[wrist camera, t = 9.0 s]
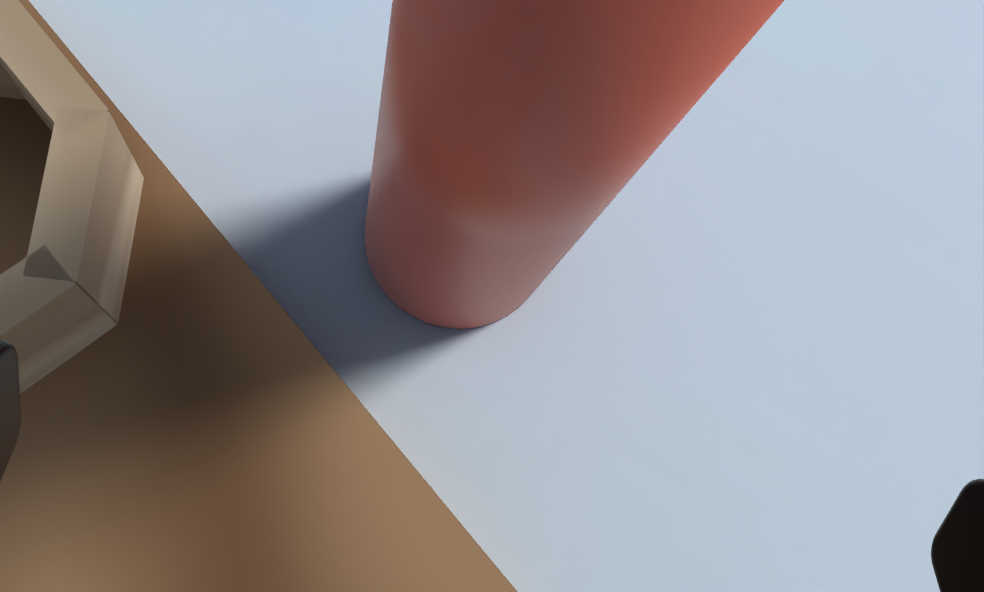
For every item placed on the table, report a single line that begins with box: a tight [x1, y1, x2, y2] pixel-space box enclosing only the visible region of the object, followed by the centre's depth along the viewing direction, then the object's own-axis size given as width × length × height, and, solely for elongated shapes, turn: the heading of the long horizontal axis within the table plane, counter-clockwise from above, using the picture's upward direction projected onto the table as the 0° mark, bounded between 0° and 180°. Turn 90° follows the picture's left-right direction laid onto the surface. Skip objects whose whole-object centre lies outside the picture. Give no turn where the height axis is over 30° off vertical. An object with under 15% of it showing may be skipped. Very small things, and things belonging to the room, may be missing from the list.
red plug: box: [365, 0, 784, 329], centre depth 14 cm, size 4×4×14 cm
